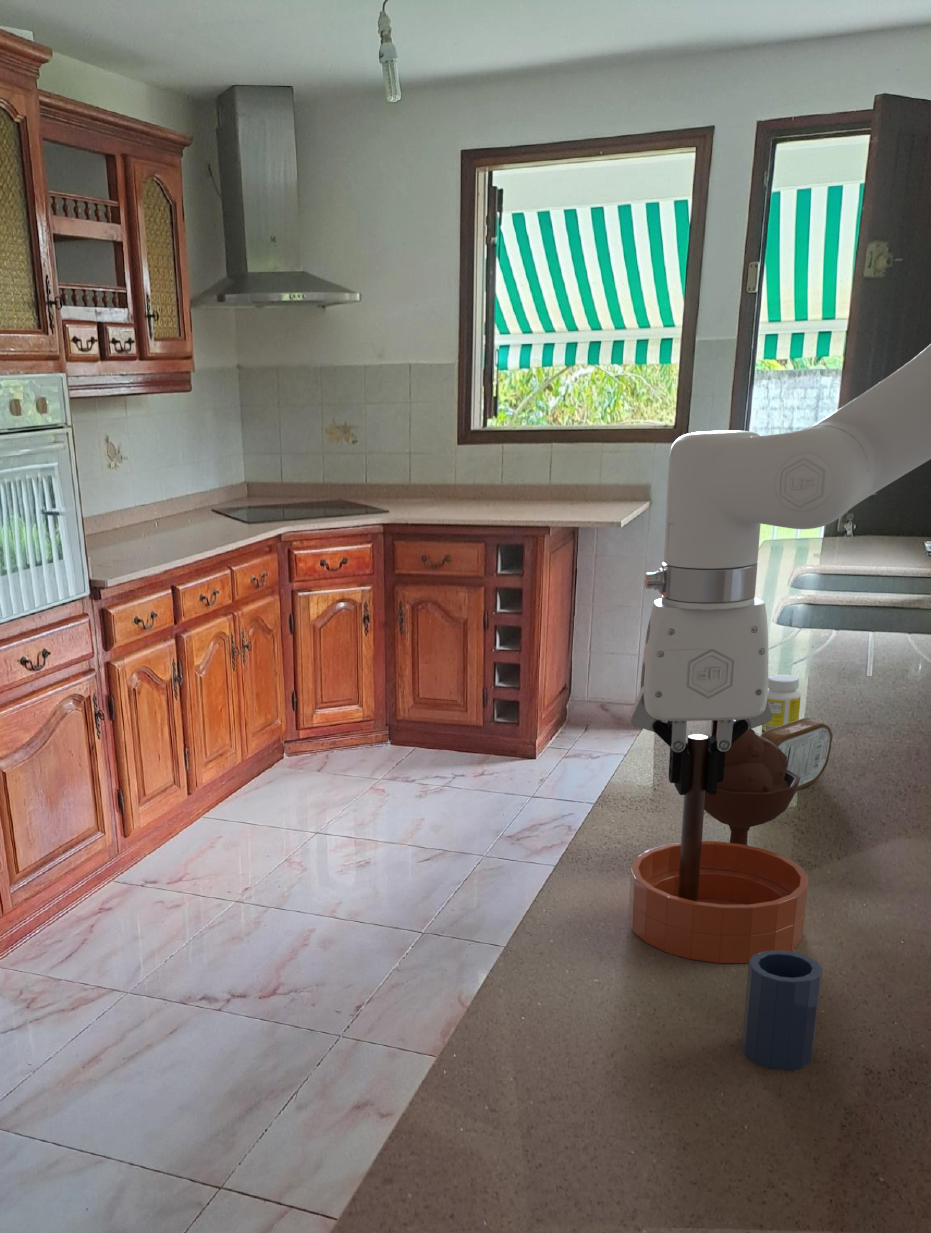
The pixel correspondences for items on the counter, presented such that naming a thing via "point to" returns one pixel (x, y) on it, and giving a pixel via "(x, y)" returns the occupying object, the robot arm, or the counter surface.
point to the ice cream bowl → (751, 786)
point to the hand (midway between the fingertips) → (694, 788)
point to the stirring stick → (693, 819)
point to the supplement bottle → (782, 700)
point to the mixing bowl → (719, 903)
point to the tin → (803, 747)
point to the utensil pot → (781, 1009)
